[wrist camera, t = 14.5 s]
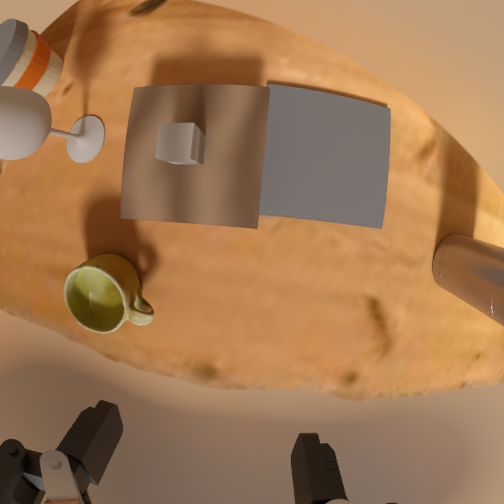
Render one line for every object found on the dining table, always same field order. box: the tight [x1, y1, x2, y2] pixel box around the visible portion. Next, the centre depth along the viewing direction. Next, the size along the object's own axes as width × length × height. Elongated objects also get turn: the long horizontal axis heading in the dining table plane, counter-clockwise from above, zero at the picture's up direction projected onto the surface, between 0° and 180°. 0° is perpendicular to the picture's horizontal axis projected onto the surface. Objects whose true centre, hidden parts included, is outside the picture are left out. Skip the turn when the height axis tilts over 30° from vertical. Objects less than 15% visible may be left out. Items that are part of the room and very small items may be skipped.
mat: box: [259, 84, 390, 229], centre depth 32 cm, size 17×17×1 cm
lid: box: [120, 84, 270, 229], centre depth 23 cm, size 15×15×7 cm
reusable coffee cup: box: [0, 19, 63, 97], centre depth 21 cm, size 12×13×15 cm
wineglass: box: [0, 86, 105, 163], centre depth 21 cm, size 8×8×21 cm
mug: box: [63, 253, 154, 333], centre depth 33 cm, size 12×10×10 cm
